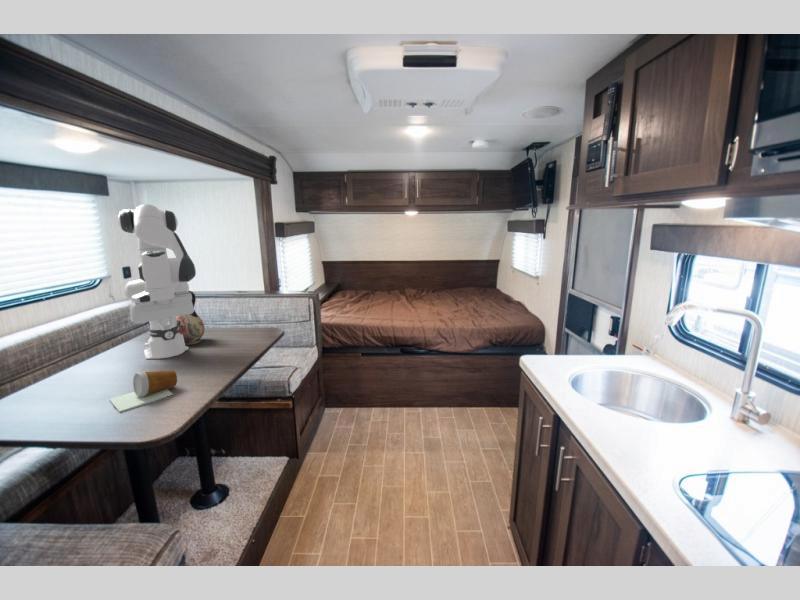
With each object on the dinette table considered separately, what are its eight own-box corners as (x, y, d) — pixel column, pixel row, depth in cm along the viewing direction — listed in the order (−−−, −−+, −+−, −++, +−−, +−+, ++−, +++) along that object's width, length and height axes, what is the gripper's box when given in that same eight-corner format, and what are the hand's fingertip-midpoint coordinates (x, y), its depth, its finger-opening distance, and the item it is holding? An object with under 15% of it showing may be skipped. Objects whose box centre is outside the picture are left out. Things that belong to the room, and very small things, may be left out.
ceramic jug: (166, 347, 180) (159, 292, 175) (186, 338, 195) (179, 288, 190) (197, 347, 179) (190, 292, 174) (214, 338, 194) (208, 288, 189)
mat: (109, 400, 123) (109, 399, 123) (160, 385, 136) (159, 383, 136) (119, 412, 115) (119, 411, 115) (172, 395, 127) (172, 393, 127)
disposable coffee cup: (167, 380, 137) (131, 387, 127) (171, 361, 135) (135, 366, 125) (176, 395, 133) (139, 403, 123) (181, 375, 130) (144, 382, 120)
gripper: (187, 289, 136) (192, 322, 139) (125, 297, 121) (131, 334, 123) (194, 291, 132) (198, 324, 135) (130, 299, 117) (136, 337, 120)
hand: (166, 329), depth 129 cm, fingers closed
